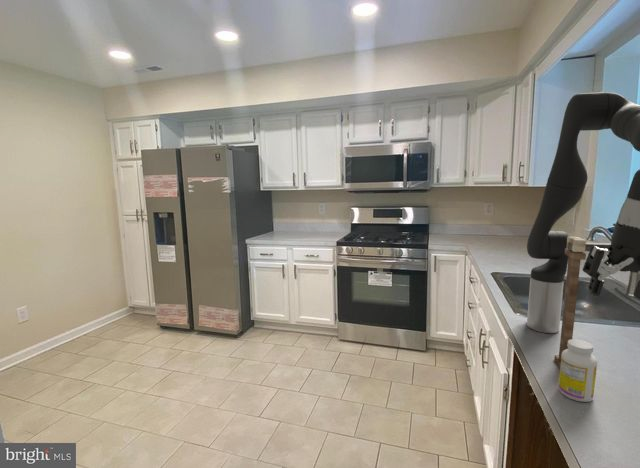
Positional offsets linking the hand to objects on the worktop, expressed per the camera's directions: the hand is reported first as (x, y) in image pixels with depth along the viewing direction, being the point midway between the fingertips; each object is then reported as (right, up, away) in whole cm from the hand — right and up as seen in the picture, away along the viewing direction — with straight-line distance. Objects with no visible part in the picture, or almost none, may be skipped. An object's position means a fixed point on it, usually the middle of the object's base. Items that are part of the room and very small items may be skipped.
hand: (616, 296), depth 71 cm
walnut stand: (+4, -23, +21) cm, 31 cm away
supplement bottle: (-2, -25, +9) cm, 27 cm away
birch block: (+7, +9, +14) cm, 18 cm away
